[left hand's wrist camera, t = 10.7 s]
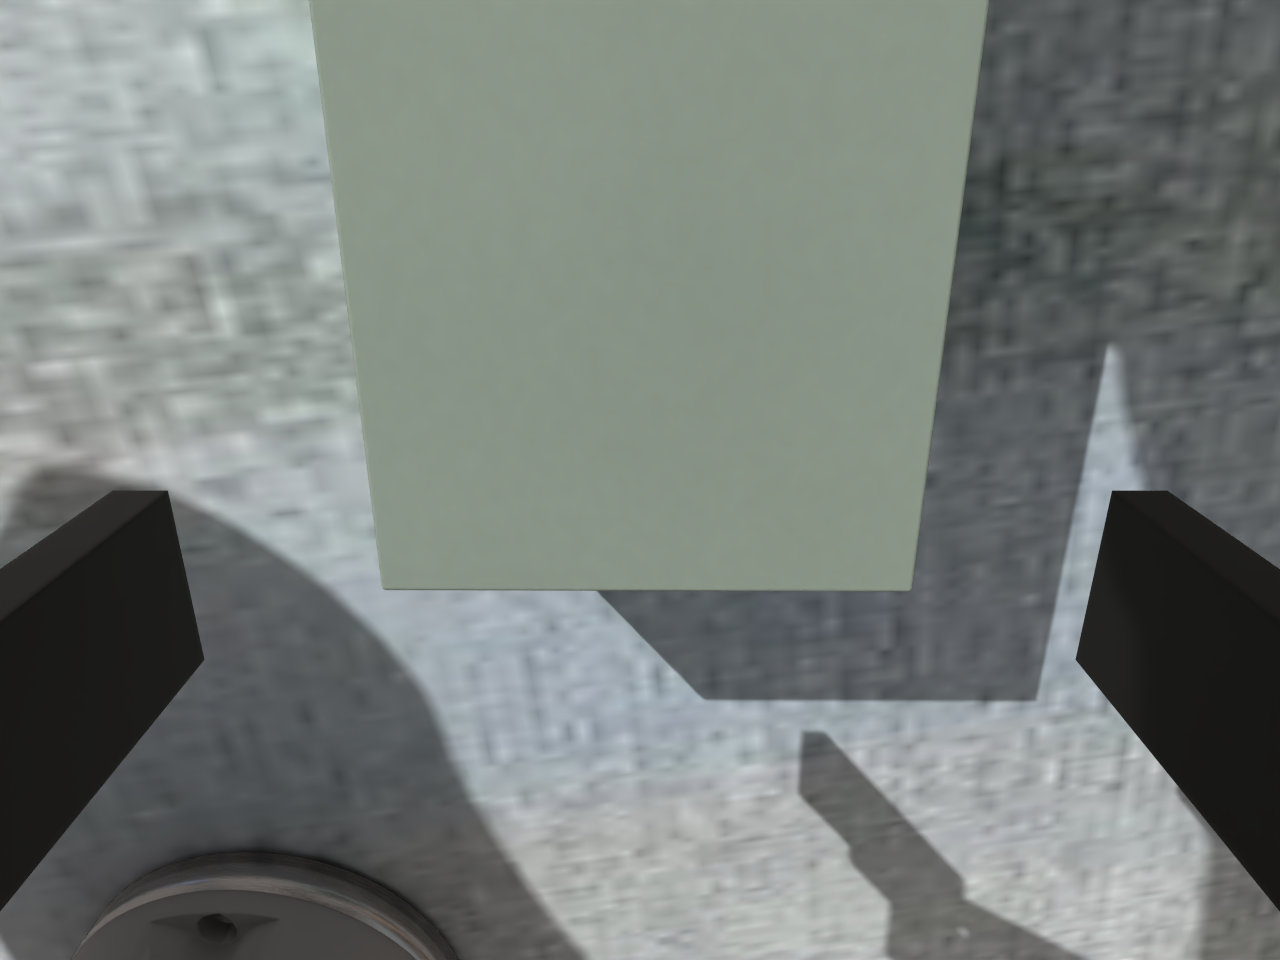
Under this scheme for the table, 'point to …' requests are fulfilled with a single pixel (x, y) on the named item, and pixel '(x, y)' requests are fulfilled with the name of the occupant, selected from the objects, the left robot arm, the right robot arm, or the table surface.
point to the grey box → (648, 282)
